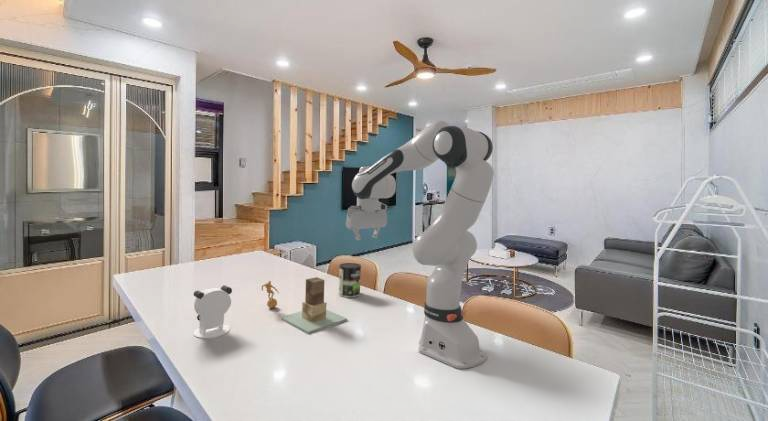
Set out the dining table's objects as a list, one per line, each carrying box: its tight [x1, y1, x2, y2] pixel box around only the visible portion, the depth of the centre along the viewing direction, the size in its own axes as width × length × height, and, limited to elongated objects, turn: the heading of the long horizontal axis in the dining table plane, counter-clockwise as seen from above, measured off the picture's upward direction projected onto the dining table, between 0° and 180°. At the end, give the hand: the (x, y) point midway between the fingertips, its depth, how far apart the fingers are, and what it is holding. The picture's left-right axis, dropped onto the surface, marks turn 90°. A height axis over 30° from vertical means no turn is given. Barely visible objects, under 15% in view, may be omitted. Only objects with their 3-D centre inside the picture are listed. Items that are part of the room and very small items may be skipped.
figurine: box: [261, 280, 280, 309], centre depth 145 cm, size 8×6×12 cm
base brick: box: [301, 301, 327, 322], centre depth 136 cm, size 6×6×6 cm
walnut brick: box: [304, 276, 325, 306], centre depth 135 cm, size 5×5×9 cm
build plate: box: [280, 309, 348, 335], centre depth 136 cm, size 18×18×1 cm
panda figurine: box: [193, 285, 233, 340], centre depth 122 cm, size 12×11×15 cm
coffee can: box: [338, 262, 362, 298], centre depth 168 cm, size 10×10×14 cm
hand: (366, 239), depth 145 cm, fingers open, 8 cm apart
